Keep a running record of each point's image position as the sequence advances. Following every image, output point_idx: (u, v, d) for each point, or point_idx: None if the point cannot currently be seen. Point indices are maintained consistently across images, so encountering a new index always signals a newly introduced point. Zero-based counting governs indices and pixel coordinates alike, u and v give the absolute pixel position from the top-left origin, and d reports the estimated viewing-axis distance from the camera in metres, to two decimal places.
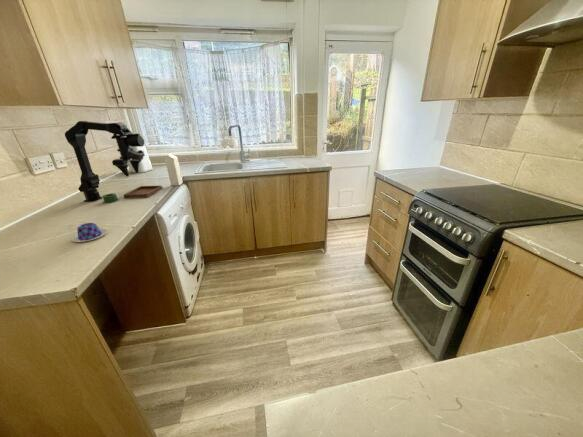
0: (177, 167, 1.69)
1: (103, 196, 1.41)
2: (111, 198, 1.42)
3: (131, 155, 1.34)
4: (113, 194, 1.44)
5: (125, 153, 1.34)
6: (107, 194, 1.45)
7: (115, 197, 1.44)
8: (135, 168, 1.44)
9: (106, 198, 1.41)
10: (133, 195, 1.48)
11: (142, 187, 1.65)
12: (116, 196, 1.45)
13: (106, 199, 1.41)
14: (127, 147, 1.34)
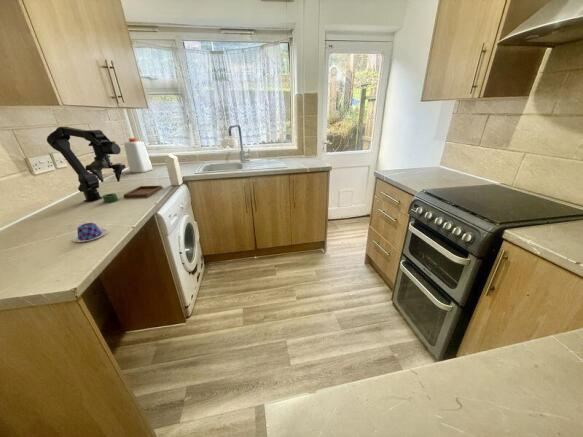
0: (177, 167, 1.69)
1: (103, 196, 1.41)
2: (111, 198, 1.42)
3: None
4: (113, 194, 1.44)
5: None
6: (107, 194, 1.45)
7: (115, 197, 1.44)
8: None
9: (106, 198, 1.41)
10: (133, 195, 1.48)
11: (142, 187, 1.65)
12: (116, 196, 1.45)
13: (106, 199, 1.41)
14: (96, 155, 1.32)
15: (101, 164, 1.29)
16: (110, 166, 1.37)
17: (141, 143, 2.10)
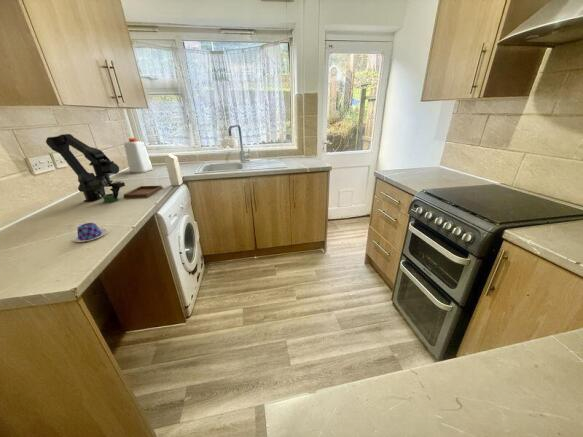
0: (177, 167, 1.69)
1: (103, 196, 1.41)
2: (111, 198, 1.42)
3: None
4: None
5: None
6: (107, 194, 1.45)
7: None
8: None
9: (106, 198, 1.41)
10: (133, 195, 1.48)
11: (142, 187, 1.65)
12: None
13: (106, 199, 1.41)
14: (96, 174, 1.36)
15: (101, 183, 1.33)
16: None
17: (141, 143, 2.10)
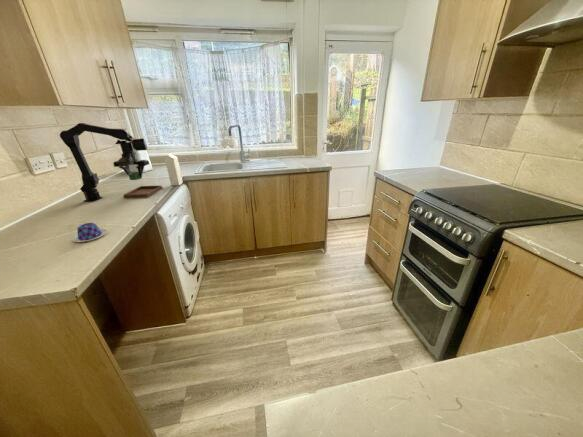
0: (177, 167, 1.69)
1: (129, 174, 1.48)
2: (136, 176, 1.49)
3: None
4: (138, 172, 1.51)
5: None
6: None
7: None
8: None
9: (132, 175, 1.48)
10: (133, 195, 1.48)
11: (142, 187, 1.65)
12: None
13: (132, 176, 1.48)
14: (123, 152, 1.43)
15: (128, 160, 1.40)
16: None
17: None
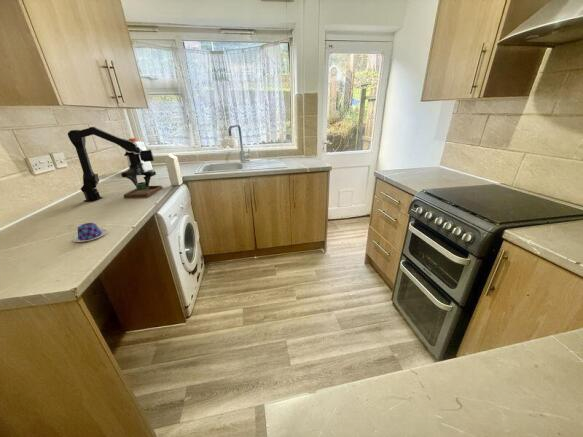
0: (177, 167, 1.69)
1: (136, 184, 1.53)
2: (143, 186, 1.53)
3: None
4: (145, 182, 1.56)
5: None
6: None
7: None
8: None
9: (139, 186, 1.52)
10: (133, 195, 1.48)
11: None
12: None
13: (139, 187, 1.52)
14: (131, 163, 1.47)
15: (136, 171, 1.44)
16: (141, 173, 1.52)
17: (141, 143, 2.10)
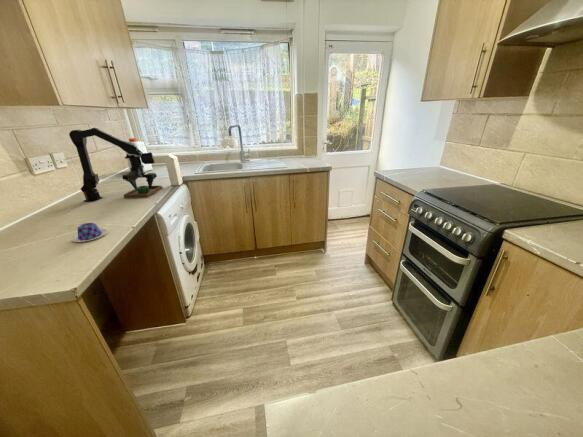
0: (177, 167, 1.69)
1: (137, 188, 1.53)
2: (144, 190, 1.54)
3: None
4: (146, 186, 1.57)
5: None
6: (140, 186, 1.57)
7: (148, 189, 1.56)
8: None
9: (140, 189, 1.53)
10: (133, 195, 1.48)
11: None
12: (148, 188, 1.57)
13: (140, 190, 1.53)
14: (131, 166, 1.48)
15: (137, 174, 1.45)
16: (143, 175, 1.52)
17: (141, 143, 2.10)
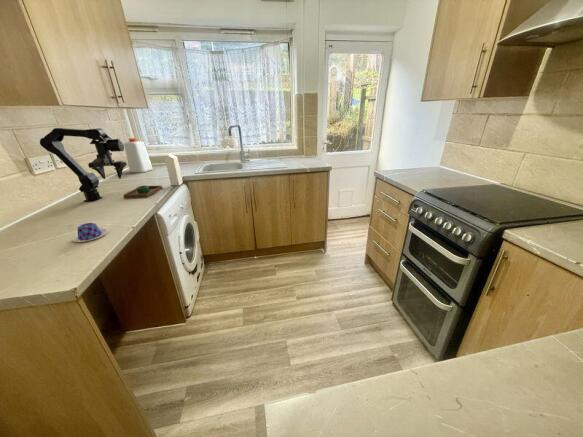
0: (177, 167, 1.69)
1: (137, 188, 1.53)
2: (144, 190, 1.54)
3: None
4: (146, 186, 1.57)
5: None
6: (140, 186, 1.57)
7: (148, 189, 1.56)
8: None
9: (140, 189, 1.53)
10: (133, 195, 1.48)
11: None
12: (148, 188, 1.57)
13: (140, 190, 1.53)
14: (98, 153, 1.36)
15: (103, 161, 1.33)
16: (112, 163, 1.40)
17: (141, 143, 2.10)
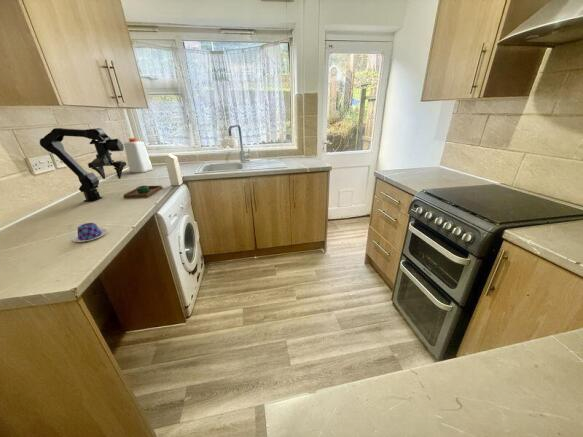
0: (177, 167, 1.69)
1: (137, 188, 1.53)
2: (144, 190, 1.54)
3: None
4: (146, 186, 1.57)
5: None
6: (140, 186, 1.57)
7: (148, 189, 1.56)
8: None
9: (140, 189, 1.53)
10: (133, 195, 1.48)
11: None
12: (148, 188, 1.57)
13: (140, 190, 1.53)
14: (97, 153, 1.36)
15: (102, 161, 1.33)
16: (111, 163, 1.40)
17: (141, 143, 2.10)
